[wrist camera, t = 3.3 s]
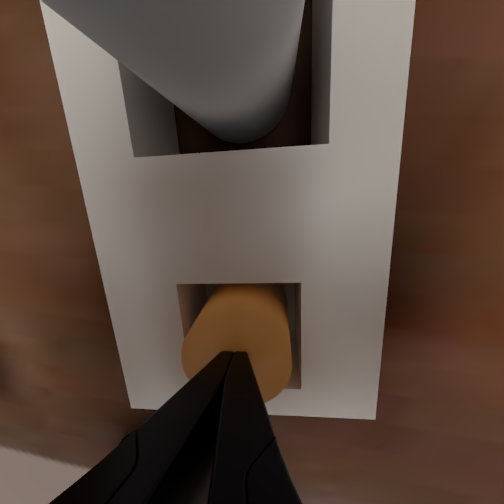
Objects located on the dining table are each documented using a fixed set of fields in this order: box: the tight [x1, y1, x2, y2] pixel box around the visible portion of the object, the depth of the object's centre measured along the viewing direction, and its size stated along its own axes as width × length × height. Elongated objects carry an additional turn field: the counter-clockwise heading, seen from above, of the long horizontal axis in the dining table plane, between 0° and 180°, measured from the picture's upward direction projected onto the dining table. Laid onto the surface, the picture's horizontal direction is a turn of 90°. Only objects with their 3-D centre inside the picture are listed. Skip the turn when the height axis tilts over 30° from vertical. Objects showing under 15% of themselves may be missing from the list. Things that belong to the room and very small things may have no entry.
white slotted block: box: [40, 0, 416, 419], centre depth 10 cm, size 10×18×4 cm, turn 3°
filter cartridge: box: [41, 0, 305, 144], centre depth 6 cm, size 4×4×9 cm
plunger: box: [181, 283, 292, 403], centre depth 10 cm, size 4×4×4 cm
